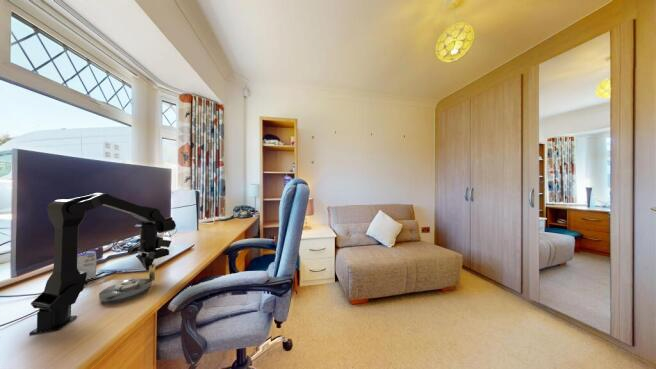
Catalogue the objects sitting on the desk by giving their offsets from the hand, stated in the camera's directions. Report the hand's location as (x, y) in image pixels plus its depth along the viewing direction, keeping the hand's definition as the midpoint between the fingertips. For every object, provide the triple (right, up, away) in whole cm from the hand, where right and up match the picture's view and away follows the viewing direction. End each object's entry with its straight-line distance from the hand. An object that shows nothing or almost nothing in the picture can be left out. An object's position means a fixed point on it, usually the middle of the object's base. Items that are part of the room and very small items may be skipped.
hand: (147, 270), depth 88 cm
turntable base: (0, -6, -9) cm, 11 cm away
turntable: (0, -5, -8) cm, 9 cm away
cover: (0, -3, -9) cm, 9 cm away
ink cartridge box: (-33, -6, +2) cm, 34 cm away
